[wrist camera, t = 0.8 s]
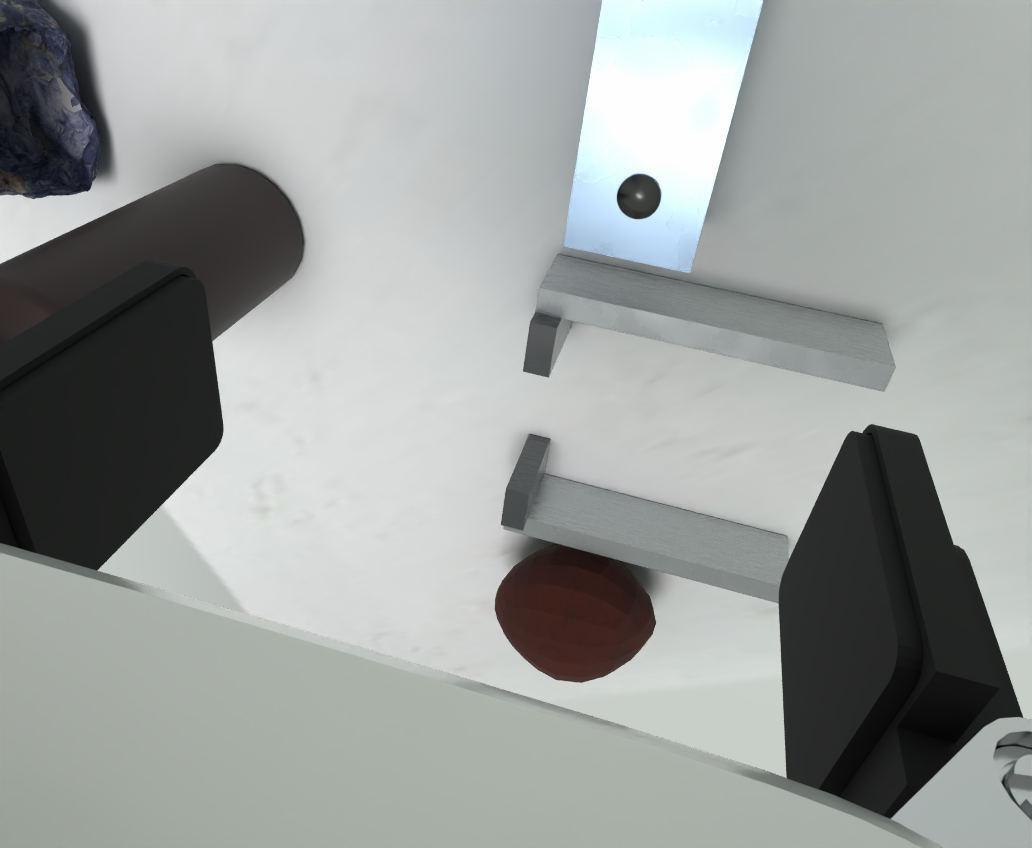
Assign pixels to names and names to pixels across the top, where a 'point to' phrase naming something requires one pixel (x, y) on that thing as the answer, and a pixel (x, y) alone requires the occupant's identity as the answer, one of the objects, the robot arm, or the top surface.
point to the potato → (574, 613)
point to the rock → (41, 108)
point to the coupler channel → (700, 325)
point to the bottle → (166, 249)
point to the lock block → (657, 125)
